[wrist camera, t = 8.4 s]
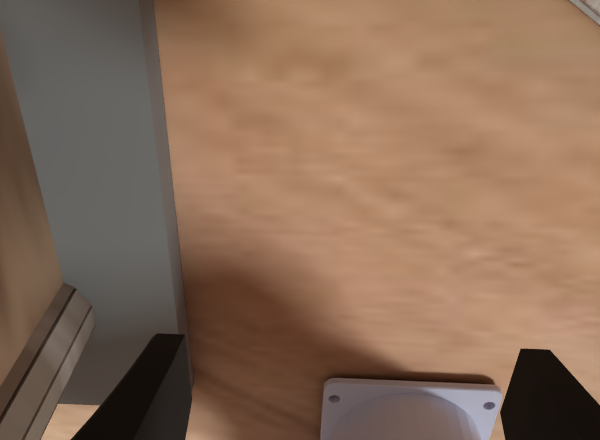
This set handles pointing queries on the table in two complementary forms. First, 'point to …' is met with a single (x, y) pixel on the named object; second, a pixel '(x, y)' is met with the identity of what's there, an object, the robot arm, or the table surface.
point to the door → (31, 287)
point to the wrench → (589, 8)
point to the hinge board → (102, 171)
